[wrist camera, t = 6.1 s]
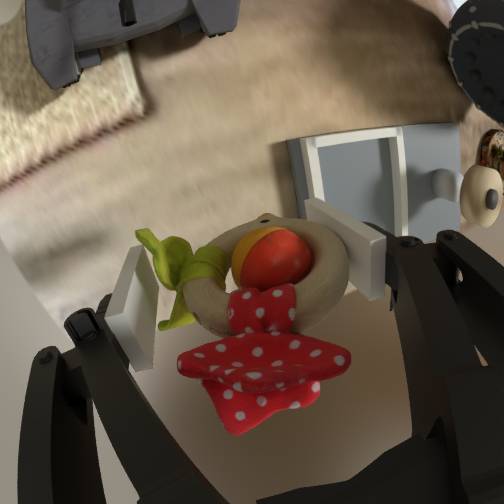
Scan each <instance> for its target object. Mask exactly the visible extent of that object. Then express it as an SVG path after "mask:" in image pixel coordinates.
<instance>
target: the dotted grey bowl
mask: <svg viewBox="0 0 504 504" xmlns="http://www.w3.org/2000/svg"><path fill="white" fill-rule="evenodd" d="M445 49H446V52H447V54H448V57H447V58H448V60H449V61H450V65H451V68H452V71H453V73H454V75H455V77H456V80H457V84H458V85H459V86H460V87H461V88H462V89H463V90H464V92H465V93H466V95H467V96H468V97H469V98H470V99H471V101H472V102H473V103H474V104H475V106H476V108H477V109H479V110H481V111H482V112H483V113H485V114H486V115H487V116H488V117H490V118H491V119H492V120H494V121H495V122H496V123H498V124H499V126H500V127H502V128H504V0H468V1H466V2H465V3H464V4H463V5H462V6H460V7H459V9H458V10H457V11H456V13H455V14H454V16H453V18H452V20H451V21H449V30H448V36H447V44H446V45H445Z"/></svg>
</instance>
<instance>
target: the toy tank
mask: <svg viewBox="0 0 504 504" xmlns="http://www.w3.org/2000/svg"><path fill="white" fill-rule="evenodd" d="M239 6H240V0H25V14H26V32H27V40H28V46H29V52H30V58H31V63H32V65H33V66H34V68H35V69H36V70H37V72H38V73H39V74H40V76H41V77H42V78H43V79H44V81H45V82H46V83H47V85H48V86H49V87H50V88H51V89H53V90H57V89H59V88H61V87H63V88H66V87H68V86H70V85H71V84H74V83H76V82H79V78H80V75H81V73H82V72H83V68H85V67H91V66H97V65H101V53H100V48H99V47H104V46H110V45H116V44H119V43H122V42H125V41H128V40H131V39H133V38H136V37H139V36H142V35H146V34H149V33H152V32H155V31H159V30H161V29H162V28H164V27H166V26H168V25H170V24H172V23H175V22H177V24H178V28H179V31H180V33H181V36H182V38H183V37H185V36H187V35H189V34H191V33H193V32H195V31H198V30H201V32H203V33H205V34H206V35H207V36H208V37H209V38H212V37H215V36H216V34H217V35H218V36H222V35H225V34H226V32H232V31H233V30H234V29H235V28H236V25H237V19H238V12H239Z"/></svg>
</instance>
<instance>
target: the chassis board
mask: <svg viewBox="0 0 504 504" xmlns="http://www.w3.org/2000/svg"><path fill="white" fill-rule="evenodd" d="M286 141H287V146H288V151H289V157H290V162H291V168H292V174H293V179H294V185H295V191H296V197H297V203H298V210H299V216H300V219H303V220H307V216H306V209H305V202H304V200H307V199H311V198H316V197H317V198H319V199H321V200H323V201H324V202H326V203H328V204H330V205H332V206H334V207H336V208H337V209H339V210H341V211H343V212H345V213H347V214H348V215H350V216H352V217H354V218H355V219H357V220H359V221H361V222H364V221H365V222H369V223H373V224H375V225H377V226H379V227H380V228H382V229H384V230H385V231H387V232H389V233H391V234H393V235H394V236H396V237H400V236H414V237H417V238H419V239H421V240H422V241H423V243H426V242H429V241H431V240H434V239H436V236H437V233H438V232H439V231H442V230H447V229H449V230H454V231H456V230H459V229H460V213H461V210H460V203H459V196H460V188H461V184H462V181H463V178H464V177H463V175H462V174H461V155H460V139H459V127H458V123H430V124H411V125H397V126H386V127H375V128H366V129H357V130H349V131H341V132H334V133H327V134H320V135H314V136H308V137H302V138H296V139H290V140H286Z"/></svg>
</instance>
